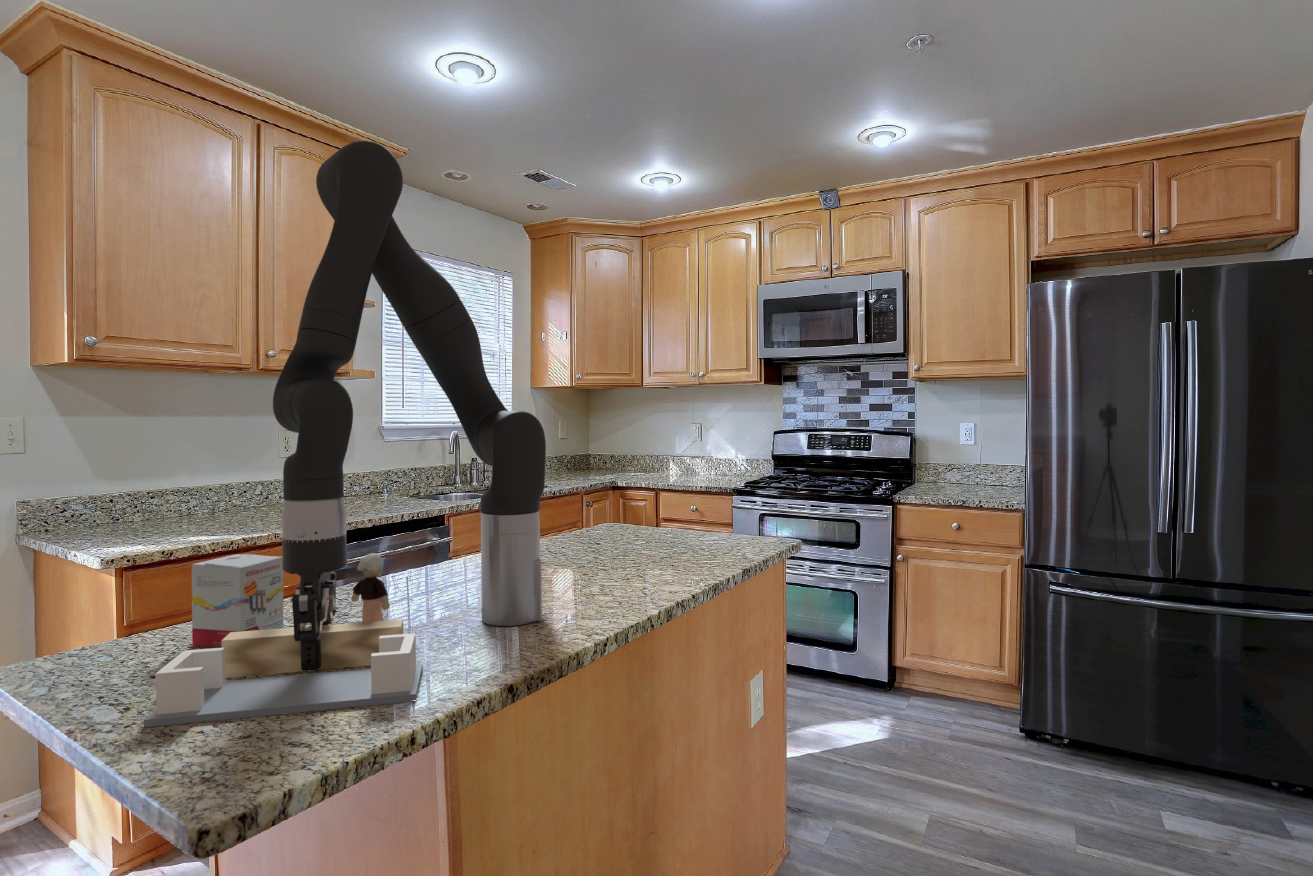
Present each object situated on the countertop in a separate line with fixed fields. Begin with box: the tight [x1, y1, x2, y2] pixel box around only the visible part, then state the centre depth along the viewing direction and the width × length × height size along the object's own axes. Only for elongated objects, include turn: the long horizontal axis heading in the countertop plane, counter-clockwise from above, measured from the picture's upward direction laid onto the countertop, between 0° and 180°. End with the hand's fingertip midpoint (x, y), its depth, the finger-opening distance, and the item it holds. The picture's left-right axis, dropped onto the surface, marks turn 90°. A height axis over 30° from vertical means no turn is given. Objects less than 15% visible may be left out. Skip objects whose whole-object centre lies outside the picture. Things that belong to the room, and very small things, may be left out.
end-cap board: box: [143, 632, 424, 728], centre depth 81 cm, size 27×10×5 cm, turn 104°
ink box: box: [191, 553, 285, 648], centre depth 103 cm, size 9×9×12 cm
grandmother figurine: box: [350, 552, 391, 622], centre depth 102 cm, size 8×4×13 cm, turn 71°
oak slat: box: [222, 619, 404, 679], centre depth 92 cm, size 21×4×5 cm, turn 105°
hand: (317, 660), depth 92 cm, fingers open, 5 cm apart
